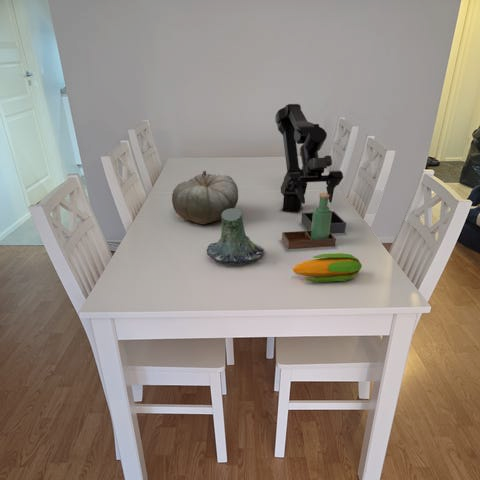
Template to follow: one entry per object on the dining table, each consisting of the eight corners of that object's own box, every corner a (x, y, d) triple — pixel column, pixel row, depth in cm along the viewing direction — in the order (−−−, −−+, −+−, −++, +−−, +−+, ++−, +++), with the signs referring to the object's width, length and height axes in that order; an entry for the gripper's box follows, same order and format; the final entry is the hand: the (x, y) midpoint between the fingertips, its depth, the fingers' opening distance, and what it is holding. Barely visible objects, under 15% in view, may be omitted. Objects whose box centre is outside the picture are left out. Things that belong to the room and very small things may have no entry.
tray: (301, 223, 166) (302, 212, 164) (332, 221, 168) (334, 211, 166) (311, 236, 156) (312, 225, 154) (344, 234, 158) (346, 223, 156)
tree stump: (271, 247, 149) (273, 199, 136) (253, 286, 137) (253, 238, 123) (219, 237, 154) (216, 190, 140) (197, 274, 141) (191, 226, 128)
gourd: (252, 205, 175) (245, 161, 164) (224, 237, 158) (214, 191, 147) (197, 202, 185) (187, 160, 174) (165, 232, 169) (152, 188, 158)
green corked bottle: (308, 243, 149) (313, 196, 141) (312, 237, 154) (316, 190, 145) (326, 246, 148) (332, 198, 139) (329, 239, 152) (335, 192, 144)
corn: (368, 257, 124) (296, 261, 122) (364, 283, 128) (295, 287, 125) (358, 248, 130) (290, 251, 128) (355, 273, 134) (289, 276, 132)
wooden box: (281, 240, 153) (282, 232, 151) (326, 238, 155) (327, 229, 153) (288, 250, 146) (288, 242, 144) (334, 247, 148) (336, 238, 147)
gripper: (289, 147, 143) (296, 192, 140) (345, 145, 146) (353, 189, 143) (281, 166, 154) (288, 208, 151) (333, 164, 157) (341, 205, 153)
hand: (317, 202), depth 149 cm, fingers open, 9 cm apart
